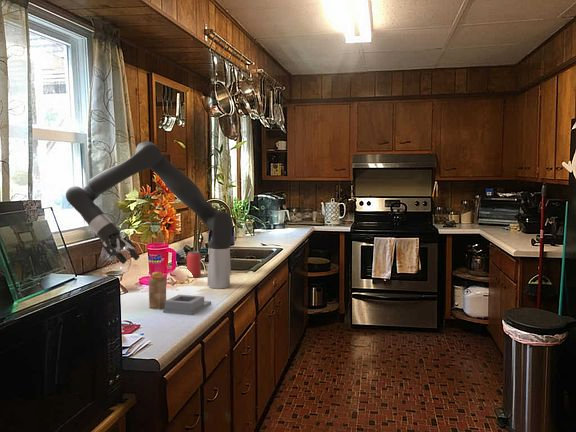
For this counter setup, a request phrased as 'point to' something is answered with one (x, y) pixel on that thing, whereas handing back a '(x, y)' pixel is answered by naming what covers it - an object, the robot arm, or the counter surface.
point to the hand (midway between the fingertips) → (131, 260)
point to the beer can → (194, 263)
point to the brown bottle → (157, 291)
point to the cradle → (185, 304)
